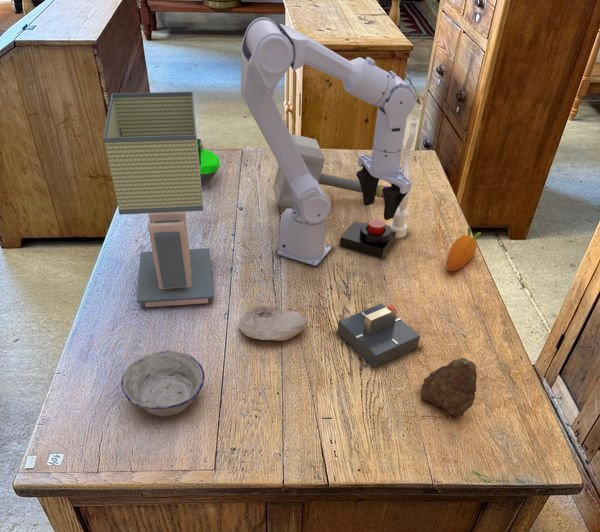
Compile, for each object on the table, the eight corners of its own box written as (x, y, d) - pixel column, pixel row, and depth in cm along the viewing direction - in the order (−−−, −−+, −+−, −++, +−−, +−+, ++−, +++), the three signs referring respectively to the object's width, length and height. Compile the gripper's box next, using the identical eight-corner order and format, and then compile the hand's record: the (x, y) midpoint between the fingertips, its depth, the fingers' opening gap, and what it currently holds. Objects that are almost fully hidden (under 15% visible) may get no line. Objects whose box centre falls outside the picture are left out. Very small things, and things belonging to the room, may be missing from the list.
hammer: (406, 158, 138) (287, 130, 129) (416, 173, 133) (293, 145, 123) (383, 215, 148) (271, 193, 139) (391, 230, 143) (275, 209, 134)
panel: (336, 333, 106) (338, 320, 104) (379, 315, 110) (381, 302, 108) (373, 368, 100) (375, 355, 98) (417, 348, 104) (420, 334, 102)
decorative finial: (407, 238, 130) (429, 124, 112) (390, 238, 129) (408, 124, 111) (402, 225, 134) (422, 112, 116) (385, 225, 133) (402, 112, 115)
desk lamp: (214, 309, 110) (197, 135, 86) (139, 314, 108) (100, 138, 84) (210, 256, 122) (194, 91, 99) (142, 260, 121) (109, 93, 97)
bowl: (220, 409, 92) (217, 388, 89) (143, 439, 88) (138, 419, 84) (188, 361, 100) (185, 340, 96) (116, 386, 95) (110, 365, 91)
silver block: (368, 336, 101) (371, 319, 98) (363, 331, 102) (365, 314, 99) (394, 324, 104) (397, 308, 101) (389, 320, 104) (392, 303, 102)
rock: (413, 388, 97) (436, 343, 90) (446, 389, 99) (471, 344, 92) (434, 430, 90) (461, 384, 83) (468, 430, 92) (497, 385, 85)
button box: (339, 246, 127) (341, 229, 124) (353, 229, 132) (355, 213, 129) (381, 258, 124) (384, 242, 121) (394, 241, 129) (397, 225, 126)
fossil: (229, 322, 101) (251, 293, 108) (231, 342, 104) (252, 312, 111) (294, 335, 98) (312, 304, 105) (294, 354, 101) (312, 323, 108)
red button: (364, 232, 124) (365, 225, 123) (371, 224, 126) (372, 217, 125) (380, 236, 123) (381, 229, 122) (386, 229, 125) (387, 221, 124)
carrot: (466, 268, 116) (488, 234, 125) (446, 254, 116) (470, 220, 125) (452, 284, 120) (475, 249, 129) (433, 270, 120) (457, 236, 129)
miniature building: (175, 170, 149) (169, 127, 141) (220, 169, 150) (217, 126, 142) (173, 192, 141) (167, 148, 133) (221, 191, 142) (218, 147, 134)
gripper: (428, 156, 109) (415, 221, 119) (380, 129, 117) (372, 192, 127) (399, 164, 106) (389, 230, 116) (352, 136, 114) (346, 200, 124)
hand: (378, 211), depth 121 cm, fingers open, 6 cm apart
